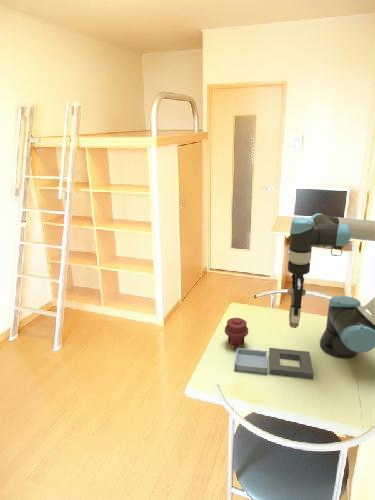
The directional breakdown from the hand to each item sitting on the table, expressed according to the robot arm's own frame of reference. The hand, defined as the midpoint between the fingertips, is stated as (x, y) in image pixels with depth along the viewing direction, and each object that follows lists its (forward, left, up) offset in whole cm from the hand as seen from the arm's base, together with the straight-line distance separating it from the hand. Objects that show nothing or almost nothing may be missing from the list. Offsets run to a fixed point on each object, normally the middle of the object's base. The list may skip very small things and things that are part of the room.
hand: (294, 318), depth 133 cm
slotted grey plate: (0, 0, -21) cm, 21 cm away
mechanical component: (+22, -10, -21) cm, 32 cm away
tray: (+15, +2, -21) cm, 26 cm away
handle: (0, 0, -3) cm, 3 cm away
